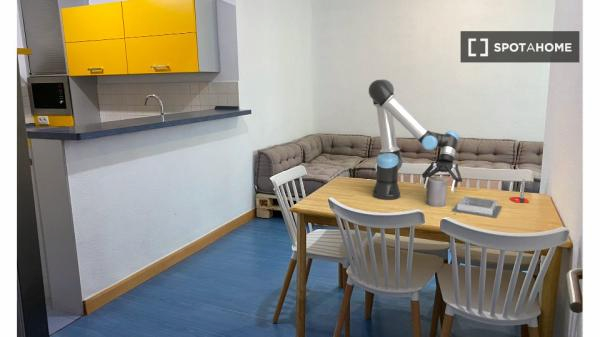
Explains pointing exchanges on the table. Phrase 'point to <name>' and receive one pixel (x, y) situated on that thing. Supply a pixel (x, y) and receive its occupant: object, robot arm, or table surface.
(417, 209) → the table surface
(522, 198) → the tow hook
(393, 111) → the robot arm
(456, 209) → the square socket
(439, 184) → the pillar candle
